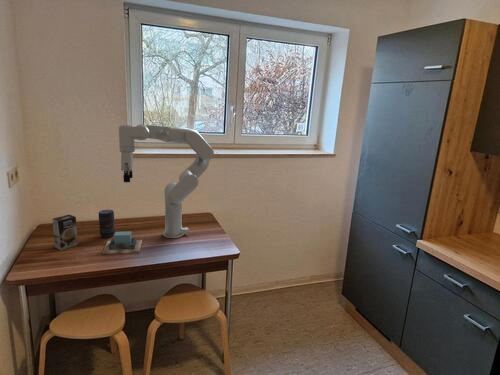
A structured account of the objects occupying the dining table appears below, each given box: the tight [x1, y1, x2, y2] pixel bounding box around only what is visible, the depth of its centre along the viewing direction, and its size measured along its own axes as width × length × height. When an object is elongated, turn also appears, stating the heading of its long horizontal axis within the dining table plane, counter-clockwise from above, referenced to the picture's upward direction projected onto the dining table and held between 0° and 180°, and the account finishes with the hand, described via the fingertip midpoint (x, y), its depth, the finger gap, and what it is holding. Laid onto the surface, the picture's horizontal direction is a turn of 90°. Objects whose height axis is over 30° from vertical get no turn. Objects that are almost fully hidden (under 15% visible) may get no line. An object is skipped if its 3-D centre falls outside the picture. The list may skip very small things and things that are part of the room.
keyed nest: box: [102, 237, 143, 255], centre depth 177 cm, size 18×14×4 cm
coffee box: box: [52, 214, 79, 251], centre depth 173 cm, size 9×6×16 cm
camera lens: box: [98, 209, 116, 239], centre depth 188 cm, size 8×8×15 cm
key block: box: [113, 230, 133, 244], centre depth 176 cm, size 5×8×7 cm, turn 102°
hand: (128, 180), depth 180 cm, fingers open, 9 cm apart
